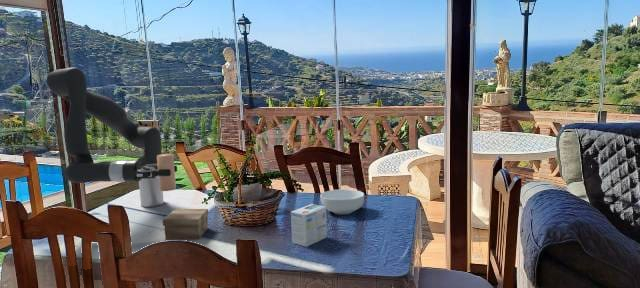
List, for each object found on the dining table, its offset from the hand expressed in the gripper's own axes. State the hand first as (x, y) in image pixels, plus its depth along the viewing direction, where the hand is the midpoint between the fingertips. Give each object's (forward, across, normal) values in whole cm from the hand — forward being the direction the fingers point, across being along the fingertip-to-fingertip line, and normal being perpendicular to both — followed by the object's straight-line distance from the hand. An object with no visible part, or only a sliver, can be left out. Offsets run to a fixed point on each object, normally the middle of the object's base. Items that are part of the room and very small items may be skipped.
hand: (173, 170), depth 167 cm
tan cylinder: (-3, 0, +6) cm, 7 cm away
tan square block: (+4, -3, +22) cm, 22 cm away
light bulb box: (+47, -10, +22) cm, 53 cm away
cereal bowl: (+58, +21, +22) cm, 65 cm away
